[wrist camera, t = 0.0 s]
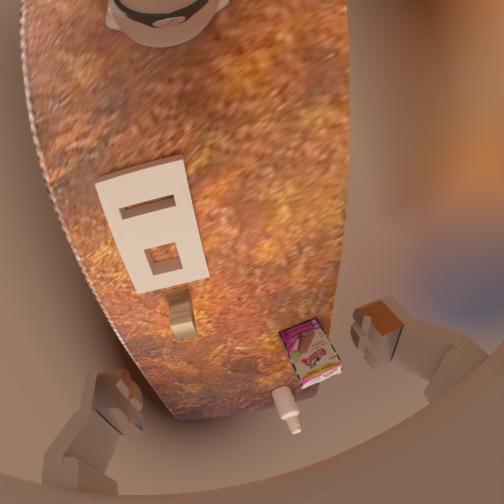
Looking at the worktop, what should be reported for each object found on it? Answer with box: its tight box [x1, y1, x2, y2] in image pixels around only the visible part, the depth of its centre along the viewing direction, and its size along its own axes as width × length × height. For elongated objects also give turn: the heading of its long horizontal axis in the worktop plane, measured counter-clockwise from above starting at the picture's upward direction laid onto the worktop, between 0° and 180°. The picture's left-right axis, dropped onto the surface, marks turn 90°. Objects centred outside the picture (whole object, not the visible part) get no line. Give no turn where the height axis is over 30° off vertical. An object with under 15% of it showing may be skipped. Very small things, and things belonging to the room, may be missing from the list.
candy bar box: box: [279, 318, 342, 389], centre depth 66 cm, size 11×5×16 cm, turn 104°
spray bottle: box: [272, 386, 301, 434], centre depth 84 cm, size 7×7×18 cm
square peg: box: [168, 286, 197, 340], centre depth 52 cm, size 4×4×10 cm
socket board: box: [95, 154, 210, 294], centre depth 45 cm, size 22×14×4 cm, turn 6°
